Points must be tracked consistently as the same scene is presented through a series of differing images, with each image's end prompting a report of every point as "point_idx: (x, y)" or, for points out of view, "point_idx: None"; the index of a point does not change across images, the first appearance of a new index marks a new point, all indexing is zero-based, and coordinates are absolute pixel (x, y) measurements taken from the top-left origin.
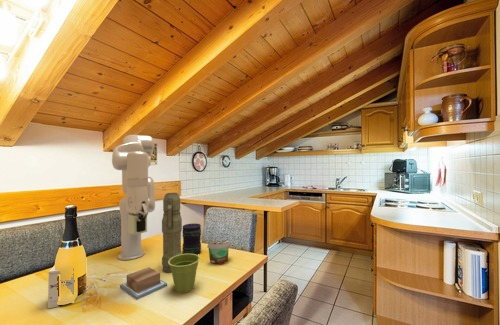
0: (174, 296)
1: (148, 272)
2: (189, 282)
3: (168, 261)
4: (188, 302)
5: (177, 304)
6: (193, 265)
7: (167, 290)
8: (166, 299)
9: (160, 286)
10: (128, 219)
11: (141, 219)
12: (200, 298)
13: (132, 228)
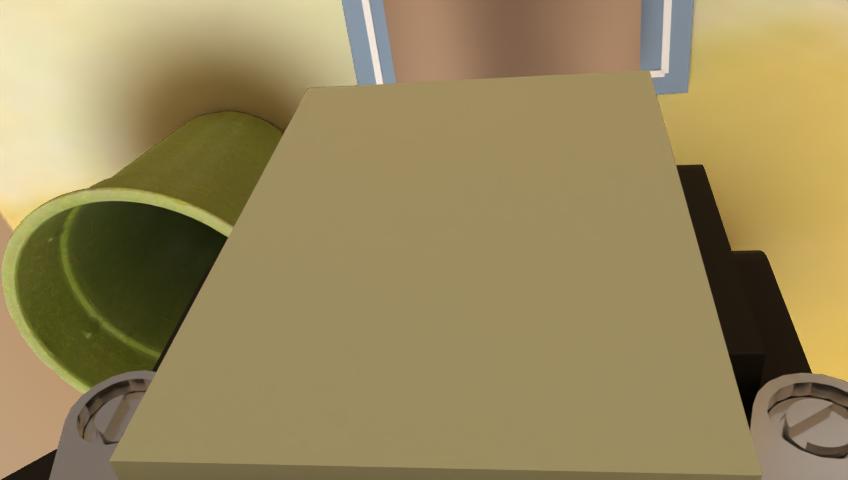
0: (170, 69)
1: (503, 50)
2: (128, 207)
3: (201, 214)
4: (35, 97)
5: (49, 32)
6: (46, 313)
7: (295, 74)
8: (163, 7)
9: (352, 55)
10: (671, 297)
11: (35, 470)
12: (43, 172)
13: (361, 156)
